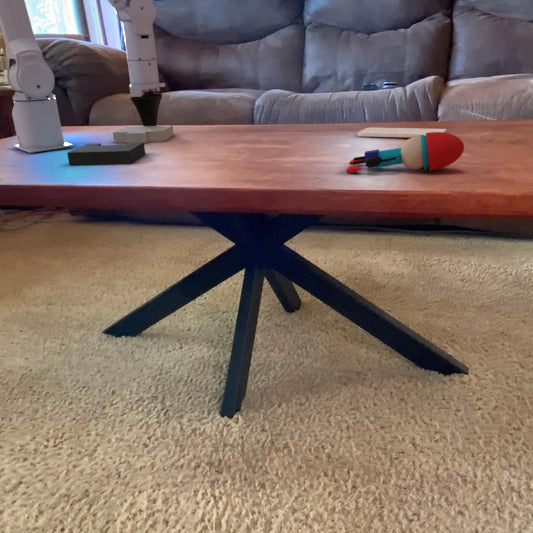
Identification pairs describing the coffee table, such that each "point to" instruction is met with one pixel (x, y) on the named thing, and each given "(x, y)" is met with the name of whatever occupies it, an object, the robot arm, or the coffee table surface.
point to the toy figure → (415, 153)
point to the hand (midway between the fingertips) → (150, 130)
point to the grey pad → (143, 134)
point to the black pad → (106, 154)
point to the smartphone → (397, 132)
